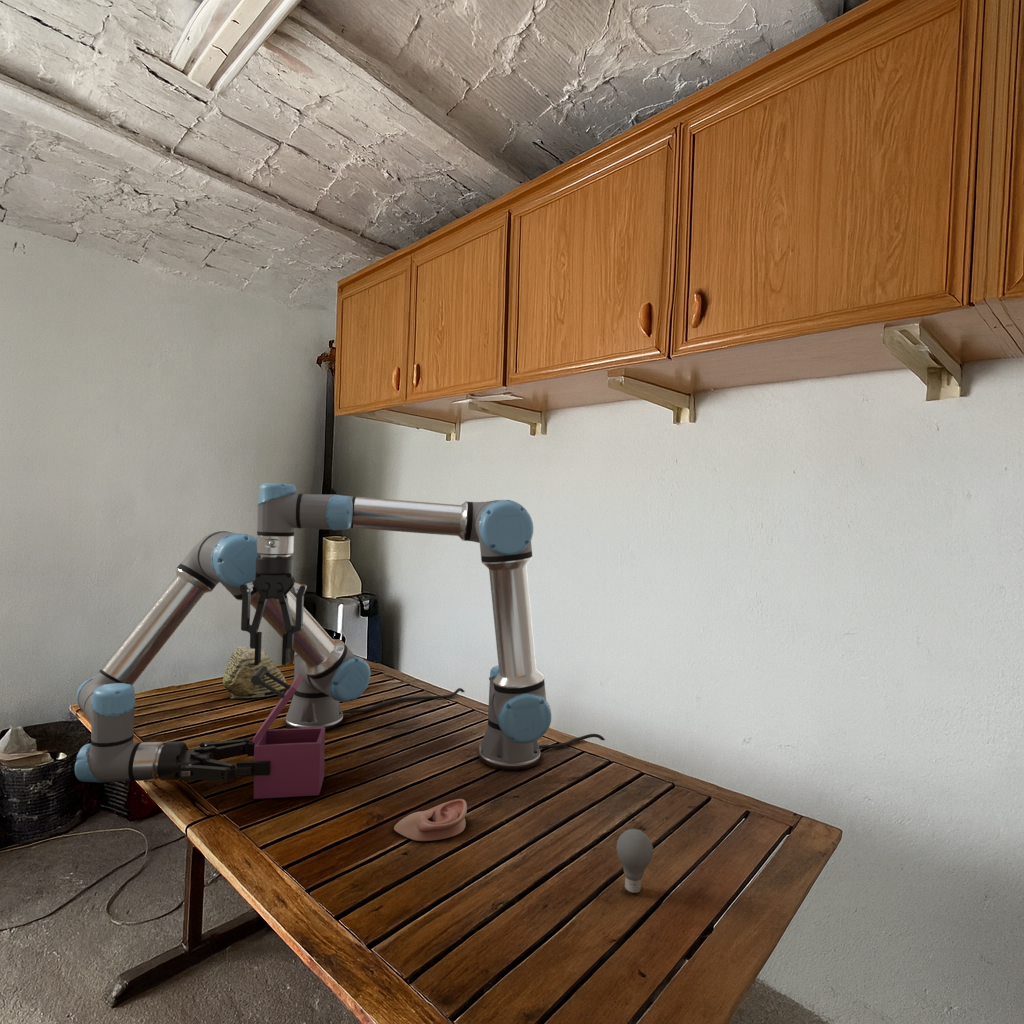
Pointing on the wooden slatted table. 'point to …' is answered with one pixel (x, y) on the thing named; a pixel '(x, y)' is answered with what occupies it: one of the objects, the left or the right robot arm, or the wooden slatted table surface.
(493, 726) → the right robot arm
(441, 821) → the anatomical model
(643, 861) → the light bulb
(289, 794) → the chest
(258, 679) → the lid
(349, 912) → the wooden slatted table surface
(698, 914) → the wooden slatted table surface
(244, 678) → the fossil
